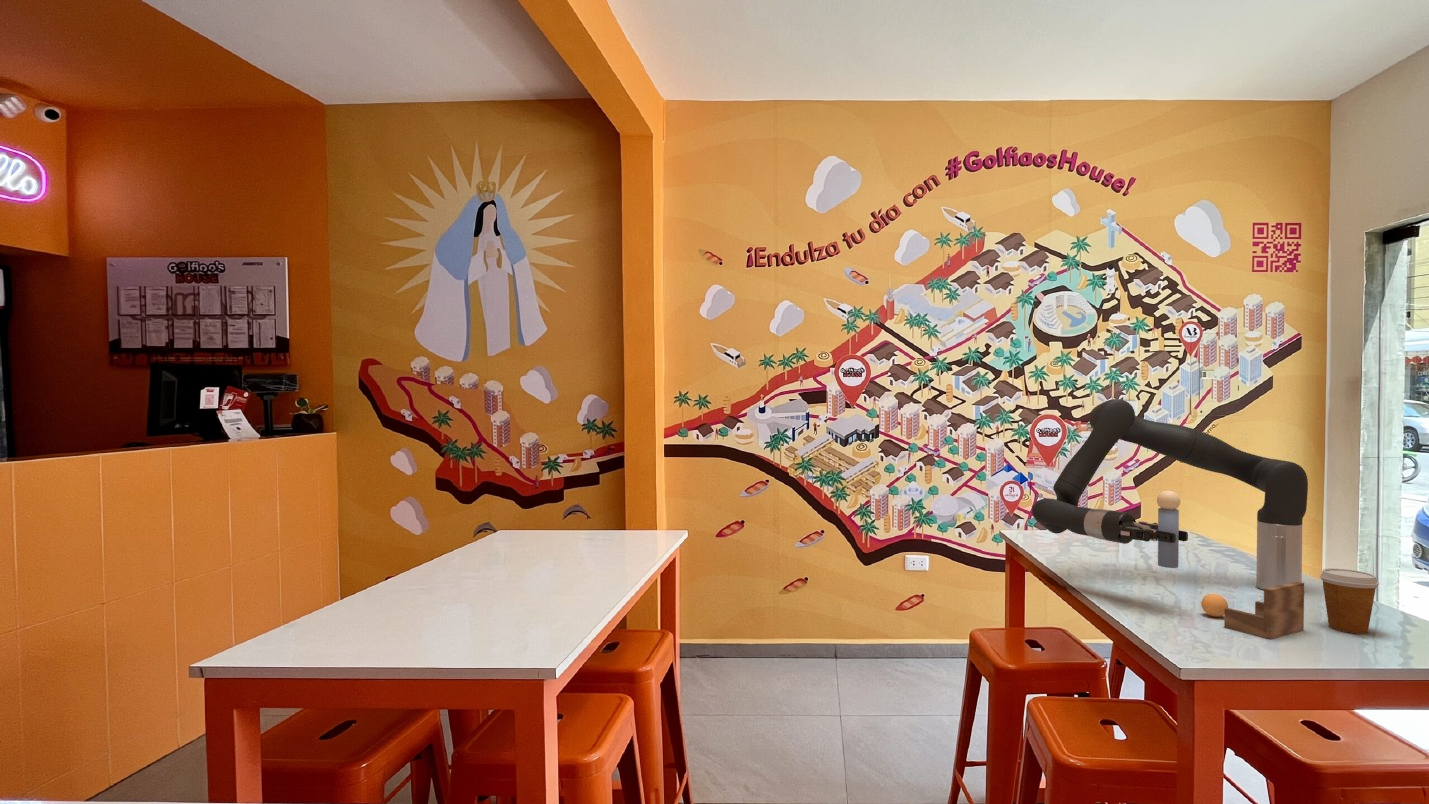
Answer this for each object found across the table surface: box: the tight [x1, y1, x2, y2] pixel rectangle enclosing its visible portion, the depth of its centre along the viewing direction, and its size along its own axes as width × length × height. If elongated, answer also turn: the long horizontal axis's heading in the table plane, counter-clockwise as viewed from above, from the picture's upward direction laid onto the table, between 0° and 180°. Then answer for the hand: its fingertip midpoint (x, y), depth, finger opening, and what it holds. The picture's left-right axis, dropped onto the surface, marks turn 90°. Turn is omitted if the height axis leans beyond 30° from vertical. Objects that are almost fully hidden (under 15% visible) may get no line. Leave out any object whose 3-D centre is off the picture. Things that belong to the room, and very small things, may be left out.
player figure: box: [1156, 490, 1181, 569], centre depth 167 cm, size 5×5×17 cm
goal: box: [1223, 582, 1305, 640], centre depth 155 cm, size 13×9×10 cm, turn 117°
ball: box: [1200, 593, 1229, 618], centre depth 163 cm, size 5×5×5 cm
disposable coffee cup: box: [1319, 567, 1380, 635], centre depth 155 cm, size 10×10×12 cm
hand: (1180, 537), depth 164 cm, fingers closed on player figure, 4 cm apart
